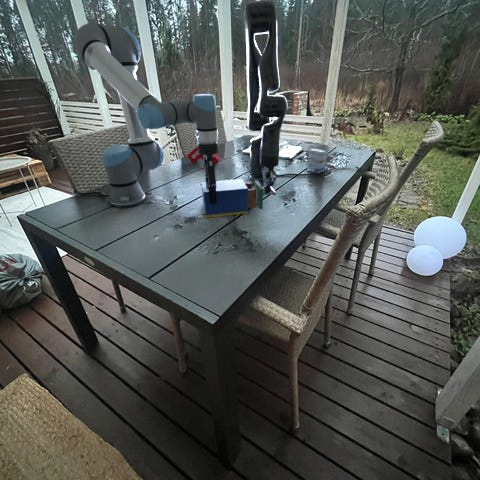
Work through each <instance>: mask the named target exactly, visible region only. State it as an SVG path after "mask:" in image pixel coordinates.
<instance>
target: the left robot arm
mask: <svg viewBox="0 0 480 480" xmlns="http://www.w3.org/2000/svg"><path fill="white" fill-rule="evenodd" d="M139 43H140V42H139V41H138V39H137V36H136V35H135V34H134V33H133V32H132V31H131V30H130V29H129V28H127V27H124V26H123V27H122V26H119V25H109V24H98V23H91V22H90V23H85V24H83V25H82V26H80V27H79V28H78V29H77V31H76V33H75V36H74V45H75V50H76V53H77V54H78V56H79V58H80V59H81V61H82V62H83V63H84V64H85V65H86V66H87V67H88V68H89V69H90V70H91V71H93V72H97V73H98V74H99V76H101V77H102V78H103V79H104V80H105V81H106V82H107V83H108V84H109V85H110V86H111V87H112V88H113V89H114V90H116V92H117V95H118V98H119V102H120V106H121V109H122V113H123V116H124V120H125V124H126V128H127V131H128V135H129V139H128V141H127V144H119V145H113V146H110V147H108V148H106V149H104V150H103V152H102V153H101V158H102V159H101V160H102V164H103V166H104V170H105V173H106V177H107V180H108V184H109V193H108V194H105V193H104V192H103V191H100V190H94V191H89V192H81V191H80V190H78V189H76V188H75V189H74V190H73V193H77V194H79V195H82V196H87V195H88V196H89V195H93V194H101V196H102V197H106V198H107V197H109V204H110V205H111V206H113V207H115V208H130V207H135V206H137V205H140V204H141V203H143V202H144V201H145V200H146V194H145V192H144V190H143V189H142V187H141V185H140V184H139V181H138V177H137V175H139V174H143V173H145V172H148V171H152V170H155V169H157V168H159V167H160V166H161V165H162V164H163V162H164V157H165V156H164V151H163V148H162V146H161V144H160V143H159V142H158V141H156V140H155V137H153V136H152V135H151V132H150V130H158V129H162V128H166V127H170V126H176V125H180V124H186V123H187V124H195V131H196V132H195V133H194V136H195V137H196V140H197V146H198V153H199V154H201V155H204V157H203V160H202V161H203V167H204V176H205V177H204V178H205V182H209V187H207V189H209V200H210V204H215V203H217V198H216V188H217V186H216V181H217V180H216V179H217V178H216V166H215V165H216V164H215V165H214V163H215V160H214V157H212V155H213V154H217V155H218V153H219V143H218V141H219V132H218V125H217V123H218V122H217V102H216V96H215V95H214V94H211V93H200V94H198V93H197V94H194V95H193V97H192V98H193V99H183V98H174V99H171V100H170V101H160V100H159V99H158V98H157V97H155V96H154V94H153V93H152V92H151V91H149V90H148V89H147V88H146V87H145V86H144V85H143V84H142V83H141V82H140V81H139V80H138V78H137V74H136V72H137V70H138V68H139V66H138V63H139V61H140V60H141V54H142V52H141V51H142V50H141V47H140V44H139Z"/></svg>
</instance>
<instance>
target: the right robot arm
mask: <svg viewBox="0 0 480 480" xmlns="http://www.w3.org/2000/svg"><path fill="white" fill-rule="evenodd" d="M277 16H278V15H277V7H276V3H275V1H274V0H252V1H247V2H246V3H245V6H244V30H245V31H244V32H245V42H246V83H247V100H248V101H247V103H248V106H247V128H248V130H249V131H250V132H256V133H257V132H261V134H260V135H259V136H257V137H254V138H251V139H250V146H251V148H250V154H249V157H250V158H249V160H250V161H249V165H250V166H249V167H250V168H249V171H248V173H249V178H250V180H253V181H258V182H259V181H262V182H263V185H264V187H265V188H264V191H263V193H271V187H274V185H275V182H276V180H277V177H285V176H298V177H301V176H302V177H303V176H304V177H305V176H315V175H321V174H323V173H324V174H325V173H328V172H331V171H334V170H337V169H336V168H335V167H332V168H333V169H331V168H329V169H330V170H328V169H326V170H327V171H325V170H324V172H320V173H316V172H313V173H314V174H310V173H283V174H277V172H276V171H275V168H276V167H278V166H279V164H280V158H279V152H280V144H281V143H280V142H281V131H282V128H283V127H282V126H283V124H284V120H285V117H286V114H287V111H288V101H287V99H286V97H285V95H269V94H271V93H274V92H276V91H278V90H279V88H280V74H279V66H278V64H279V63H278V17H277ZM263 34H268V35H267V42H266V44H265V48H264V50H263V52H262V53H261V51H260V49H259V47H258V44H257V42H256V40H255V36H256V35H263ZM256 108H257V110H256ZM271 118H273V120H272V121H271ZM355 169H357V170H360V167H358V166H357V167H355Z"/></svg>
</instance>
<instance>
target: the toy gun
mask: <svg viewBox="0 0 480 480" xmlns="http://www.w3.org/2000/svg"><path fill="white" fill-rule="evenodd" d="M186 157H187V159H188V160H189V161H190V162H191V163H192V164H194V163H197V162H198V161H199V160H200V159H201V160H202V161H203V157H204V155H201V154H199V153H198V145H196V147H195V148H194V149H193V150H191V151H190V152H189V153H188V154H187V155H186ZM212 157H214V160H215V163H214V165H217V164H219V163H220V160H221V156H220V155H218V153H217V154H213V155H212Z"/></svg>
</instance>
